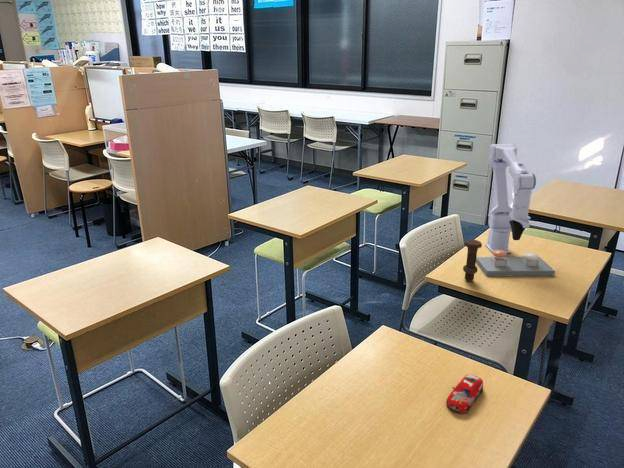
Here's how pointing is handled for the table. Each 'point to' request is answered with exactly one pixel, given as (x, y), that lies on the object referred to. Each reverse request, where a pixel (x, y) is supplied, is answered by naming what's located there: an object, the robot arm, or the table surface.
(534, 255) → the grey plunger
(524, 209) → the robot arm
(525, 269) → the press plate
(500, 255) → the terracotta plunger
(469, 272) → the bolt
